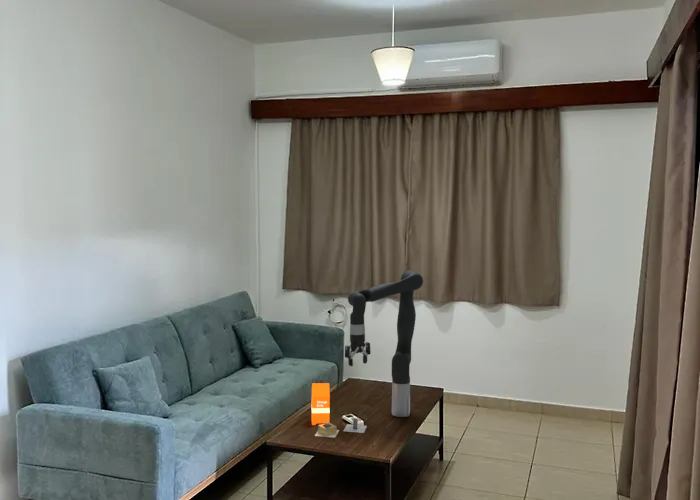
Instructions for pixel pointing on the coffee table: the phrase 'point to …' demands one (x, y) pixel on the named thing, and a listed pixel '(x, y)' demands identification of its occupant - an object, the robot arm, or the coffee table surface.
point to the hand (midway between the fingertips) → (357, 364)
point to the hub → (329, 435)
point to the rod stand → (355, 427)
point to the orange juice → (320, 403)
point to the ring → (327, 429)
